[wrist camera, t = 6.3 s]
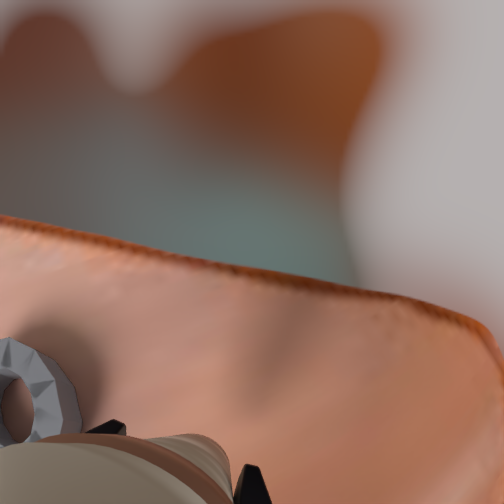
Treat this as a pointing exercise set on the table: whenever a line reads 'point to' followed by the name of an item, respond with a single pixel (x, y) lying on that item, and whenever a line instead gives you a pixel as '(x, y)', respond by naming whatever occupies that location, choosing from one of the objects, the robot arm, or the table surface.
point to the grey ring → (39, 391)
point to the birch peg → (115, 470)
